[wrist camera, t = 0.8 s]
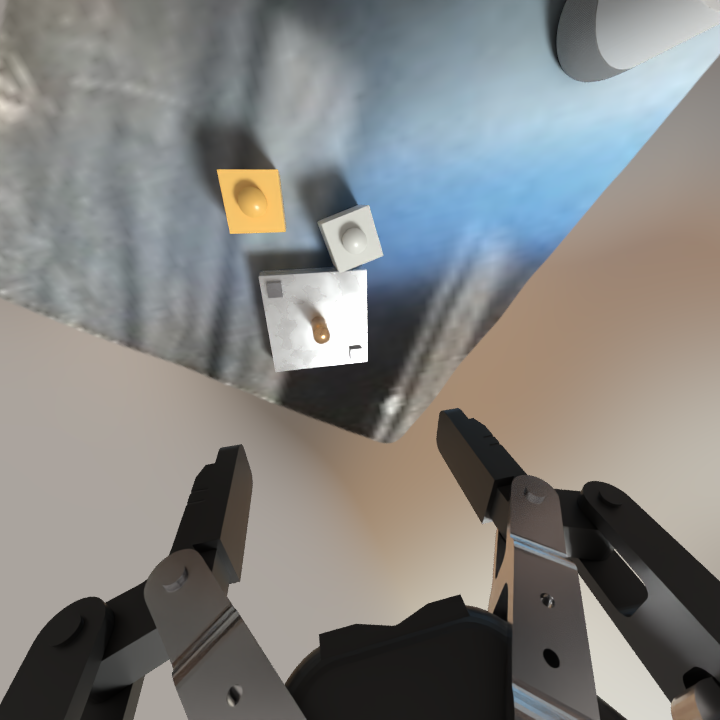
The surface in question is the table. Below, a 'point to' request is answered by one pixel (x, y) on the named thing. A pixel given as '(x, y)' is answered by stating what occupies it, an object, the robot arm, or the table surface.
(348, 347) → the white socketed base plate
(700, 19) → the smart speaker
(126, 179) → the table surface
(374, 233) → the grey cap
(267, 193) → the yellow knobbed cube
